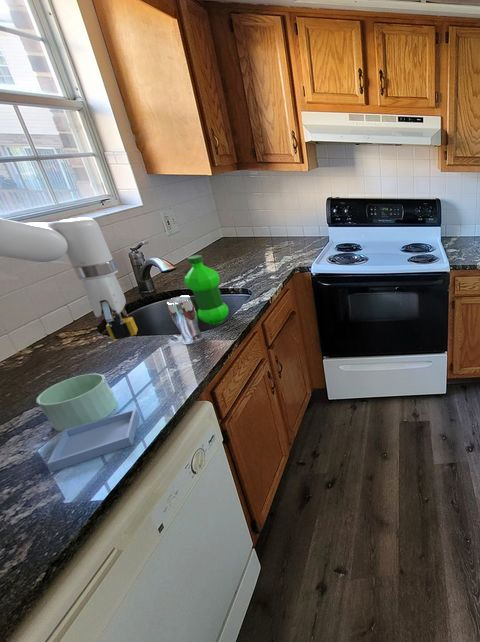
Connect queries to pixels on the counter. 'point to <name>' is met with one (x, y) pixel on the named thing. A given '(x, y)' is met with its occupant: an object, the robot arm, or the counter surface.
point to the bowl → (77, 401)
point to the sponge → (130, 325)
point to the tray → (94, 439)
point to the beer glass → (185, 318)
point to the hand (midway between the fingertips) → (124, 333)
